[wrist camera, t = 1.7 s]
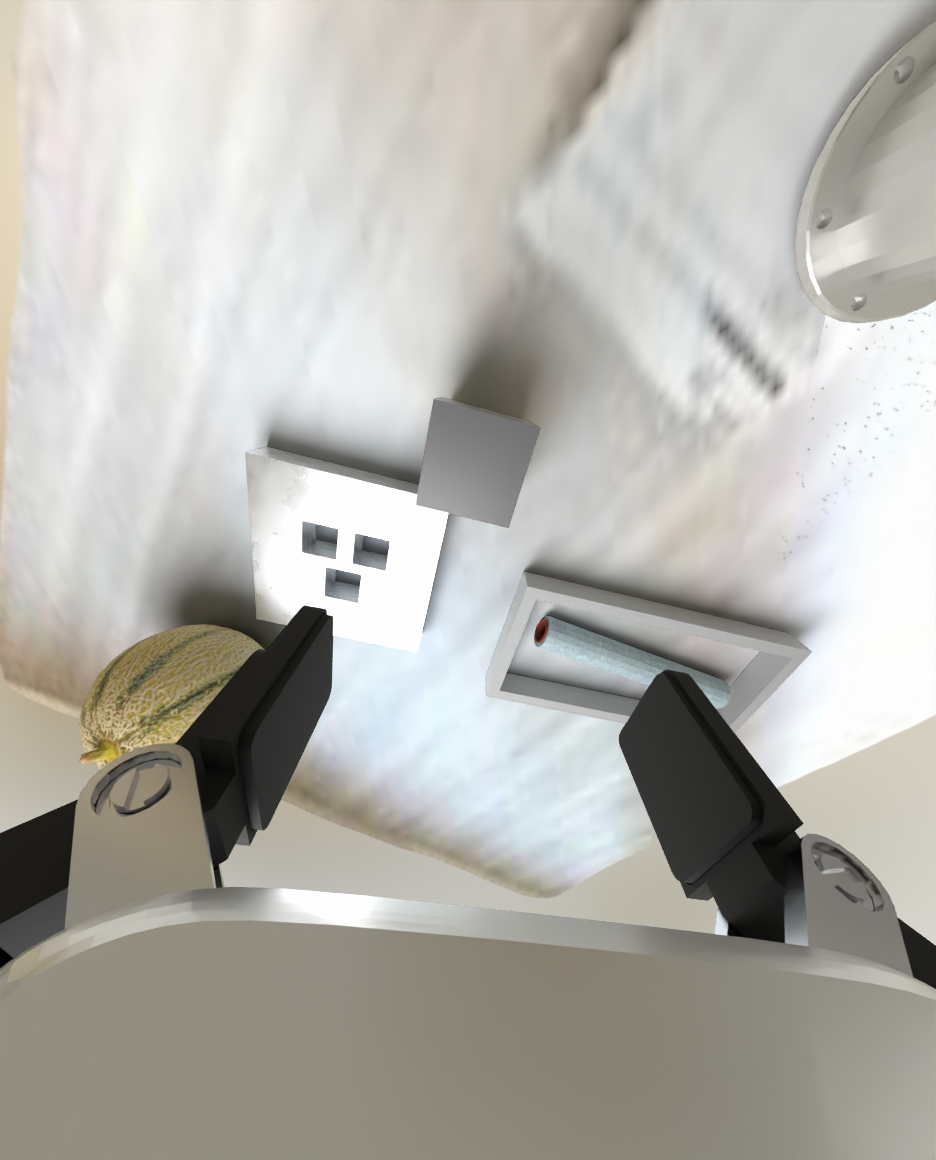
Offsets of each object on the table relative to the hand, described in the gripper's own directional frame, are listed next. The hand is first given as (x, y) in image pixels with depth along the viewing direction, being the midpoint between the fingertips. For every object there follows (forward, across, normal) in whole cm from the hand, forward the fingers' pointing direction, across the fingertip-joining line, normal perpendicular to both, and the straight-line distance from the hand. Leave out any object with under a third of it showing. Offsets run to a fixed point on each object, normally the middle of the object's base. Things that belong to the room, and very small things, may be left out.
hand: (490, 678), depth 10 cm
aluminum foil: (+24, -21, +13) cm, 34 cm away
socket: (+23, +10, +9) cm, 27 cm away
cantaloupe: (+24, +23, +24) cm, 41 cm away
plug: (+23, +1, -3) cm, 23 cm away
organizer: (+23, -20, +15) cm, 34 cm away
